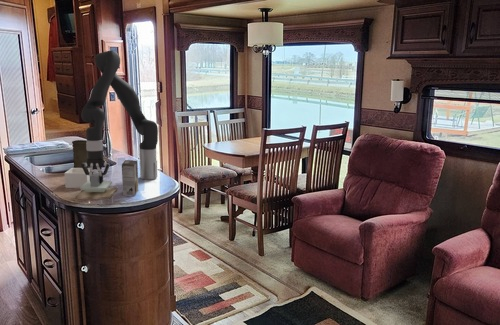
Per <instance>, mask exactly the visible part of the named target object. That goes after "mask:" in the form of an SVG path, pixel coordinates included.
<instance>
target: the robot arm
mask: <svg viewBox="0 0 500 325" xmlns="http://www.w3.org/2000/svg"><path fill="white" fill-rule="evenodd" d="M94 62H95V65H96V67H97V68H98V70H99V72H100V73H101V75H100V77H99V78H98V79H97V80H96V82H95V83H94V85H93V87H92V90H91V94H90V97H89V98H88V101H87V102H86V103H85V105H84V106H83V108H82V110H81V119H82V121H83V122H85V123H94V126H91V127H87V128H86V131H85V134H86V136H85V137H86V141H87V143H86V146H87V147H86V149H87V161H86V162H85V163H82V164H81V166H82V168H83V170H84V172H85V174H86V175H89V176H92V175H93V174H94V173H95V172H94V171H95V170H96V171H97V173H99V180H100V184H101V183H102V182H103V181H104V176H106V175H107V173H108V170H109V168H110V166H111V163H109V162H106V161H105V160H104V143H103V134H102V133H103V127H104V122H105V119H106V113H105V111H104V109H103V108H101V107H103V106H104V105H105V103H106V100H107V96H108V92H109V90H110V87H111V88H112V89H113V91H114V93H115V95H116V97H117V99H118V100H119V101H120V104H121V105H122V106H123V107H124V109H125V111H126V113H127V114H128V115H129V118H130V119H131V122H132V124H133V125H134V127H135V130H136V131H137V133H138V135H139V134H140V135H141V136H142V142H140V143H139V176H140V179H141V180H146V181H148V180H156V179H157V177H158V159H157V145H158V141H159V140H158V139H159V127H158V124H157V122H156V121H154V120H149V119H147V117H146V116H145V114H144V113H143V110H141V109H142V108H141V104H140V99H139V97H138V95H137V92H136V91H135V89H134V88H133V86H132V85H131V84H130V83H128V82H127V81H125V80H124V79H123V78H121V77H120V76H119V75H118V74H117V71H118V70H119V67H120V64H121V57H120V55H119V53H118V52H117V51H116V50H107V51H106V50H105V51H103V52H99V53H97V54H95V56H94ZM87 165H88V166H89V167H88V168H90V172H89V171H88V169H87ZM103 166H104V170H103Z"/></svg>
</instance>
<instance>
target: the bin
mask: <svg viewBox="0 0 500 325" xmlns="http://www.w3.org/2000/svg"><path fill="white" fill-rule="evenodd" d="M87 169H88V171H89V172H90V167H88V168H87ZM87 181H90V176H89V175H86V174H85V172H84V170H83V168H73V167H71V168H70V169H68V170H67V171H65V172H64V182H65V183H64V184H65V189H80V188H81V187H82V186H83V185H84V184H85V183H86V182H87Z"/></svg>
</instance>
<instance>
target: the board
mask: <svg viewBox="0 0 500 325" xmlns="http://www.w3.org/2000/svg"><path fill="white" fill-rule="evenodd" d="M117 190H118V187H108V188H107V189H106V190H105V191H104V192H85V190H80V192H79V193H78V194H75V196H74V199H75V200H76V199H78V200H79V199H80V200H82V199H83V200H86V199H87V200H110V199H111V198H112V196H114V194H115V193H116V192H117Z"/></svg>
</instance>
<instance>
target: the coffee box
mask: <svg viewBox="0 0 500 325" xmlns="http://www.w3.org/2000/svg"><path fill="white" fill-rule="evenodd" d="M138 167H139V166H138V160H134V159H133V160H131V159H130V160H129V159H128V160H124V161H123V162H122V164H121V178H122V179H121V180H122V182H121V183H122V186H121V188H122V196H126V197H128V196H129V197H132V196H133V197H136V195H137V193H138V192H139V170H138V169H139V168H138Z"/></svg>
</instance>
